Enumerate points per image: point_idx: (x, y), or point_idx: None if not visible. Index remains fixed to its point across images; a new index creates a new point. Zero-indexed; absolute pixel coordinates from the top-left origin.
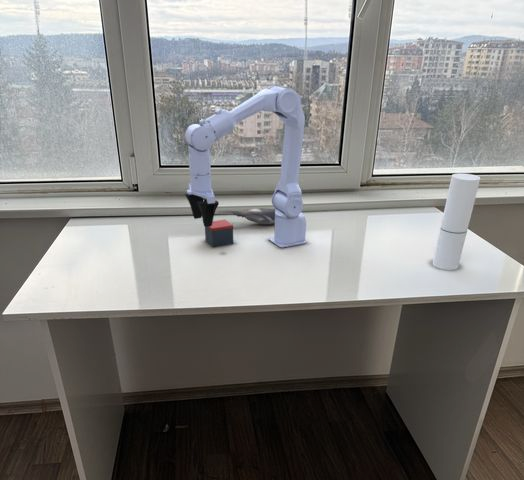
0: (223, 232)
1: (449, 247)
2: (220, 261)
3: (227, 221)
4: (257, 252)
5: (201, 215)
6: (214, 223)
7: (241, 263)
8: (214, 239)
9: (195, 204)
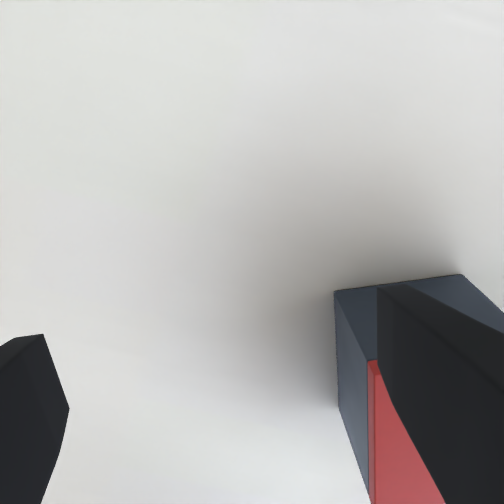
0: (360, 418)
1: None
2: (76, 275)
3: None
4: (165, 482)
5: (388, 388)
6: None
7: None
8: (347, 331)
9: (483, 460)
